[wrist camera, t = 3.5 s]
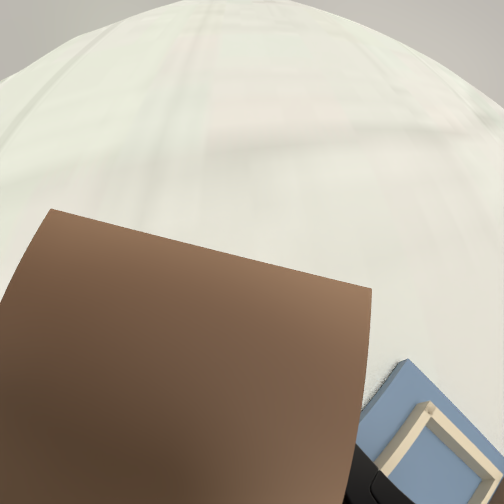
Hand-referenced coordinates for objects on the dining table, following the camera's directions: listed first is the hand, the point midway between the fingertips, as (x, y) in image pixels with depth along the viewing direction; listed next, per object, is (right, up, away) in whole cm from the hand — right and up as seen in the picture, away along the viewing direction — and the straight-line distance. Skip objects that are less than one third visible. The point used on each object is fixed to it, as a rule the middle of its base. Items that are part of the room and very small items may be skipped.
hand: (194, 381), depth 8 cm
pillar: (-1, -5, +5) cm, 7 cm away
